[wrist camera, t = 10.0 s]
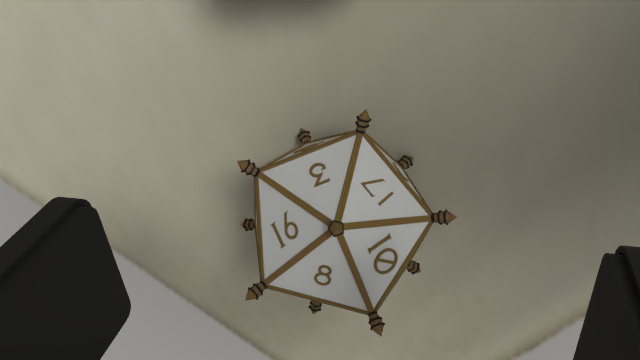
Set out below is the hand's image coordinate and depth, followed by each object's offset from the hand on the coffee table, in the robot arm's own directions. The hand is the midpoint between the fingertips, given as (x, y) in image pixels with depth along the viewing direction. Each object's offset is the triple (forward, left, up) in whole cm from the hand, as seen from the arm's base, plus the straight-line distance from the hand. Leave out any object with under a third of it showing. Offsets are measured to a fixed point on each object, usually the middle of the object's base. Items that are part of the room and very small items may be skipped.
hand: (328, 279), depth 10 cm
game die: (+1, +2, -11) cm, 11 cm away
